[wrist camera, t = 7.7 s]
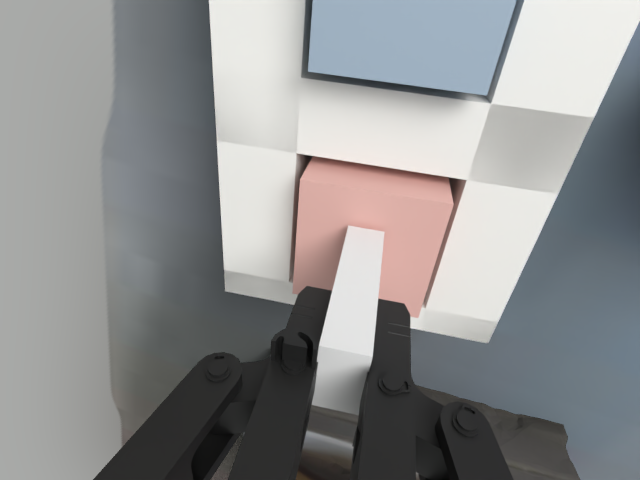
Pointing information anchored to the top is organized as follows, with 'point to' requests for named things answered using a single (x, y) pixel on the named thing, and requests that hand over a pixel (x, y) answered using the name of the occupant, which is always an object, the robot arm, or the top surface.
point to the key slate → (411, 41)
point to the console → (408, 143)
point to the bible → (509, 429)
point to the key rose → (371, 224)
